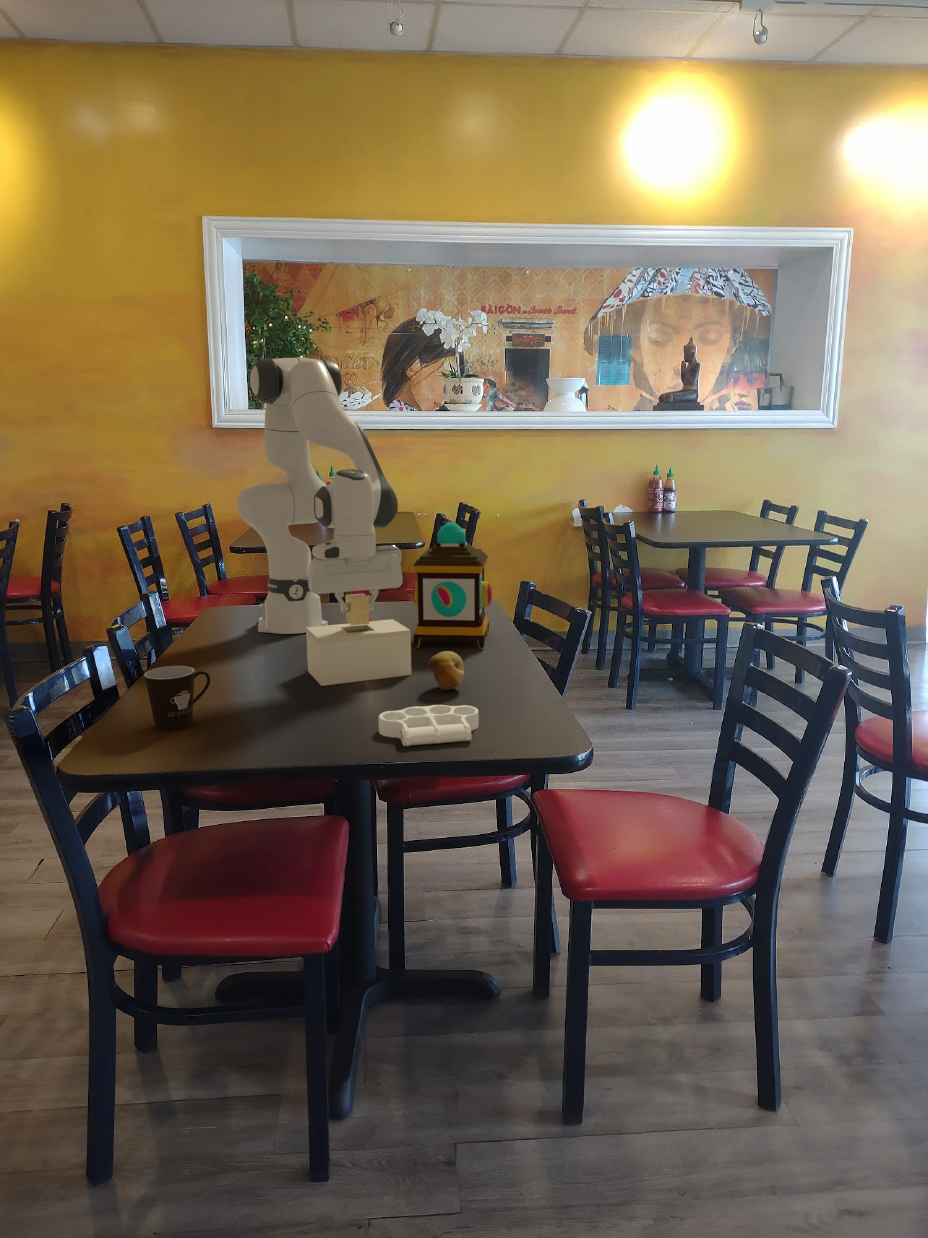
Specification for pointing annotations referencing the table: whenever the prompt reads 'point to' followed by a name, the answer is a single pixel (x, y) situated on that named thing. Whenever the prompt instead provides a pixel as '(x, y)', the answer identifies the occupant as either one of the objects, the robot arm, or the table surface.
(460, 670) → the fruit
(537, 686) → the table surface
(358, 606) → the yellow wooden block
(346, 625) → the coin box
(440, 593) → the decorative lantern
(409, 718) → the knuckle duster
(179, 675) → the coffee mug
